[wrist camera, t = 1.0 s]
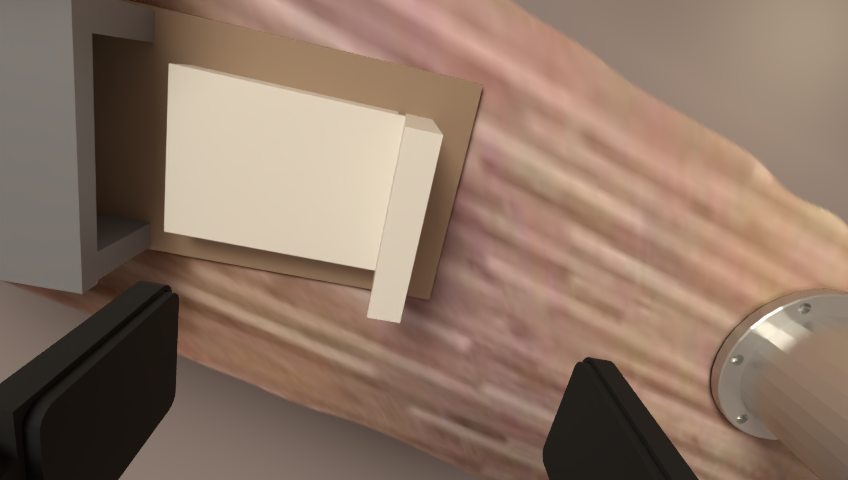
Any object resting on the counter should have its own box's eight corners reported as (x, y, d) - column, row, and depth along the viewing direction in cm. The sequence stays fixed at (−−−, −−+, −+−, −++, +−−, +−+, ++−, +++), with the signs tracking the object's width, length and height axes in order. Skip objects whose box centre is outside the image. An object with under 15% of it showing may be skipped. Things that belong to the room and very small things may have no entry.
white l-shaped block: (432, 119, 26) (443, 134, 18) (401, 259, 29) (399, 323, 21) (191, 64, 24) (95, 57, 17) (184, 218, 27) (99, 270, 20)
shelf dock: (481, 84, 26) (506, 85, 19) (428, 296, 30) (434, 353, 24) (7, -29, 23) (-144, -71, 17) (27, 223, 27) (-86, 265, 21)
